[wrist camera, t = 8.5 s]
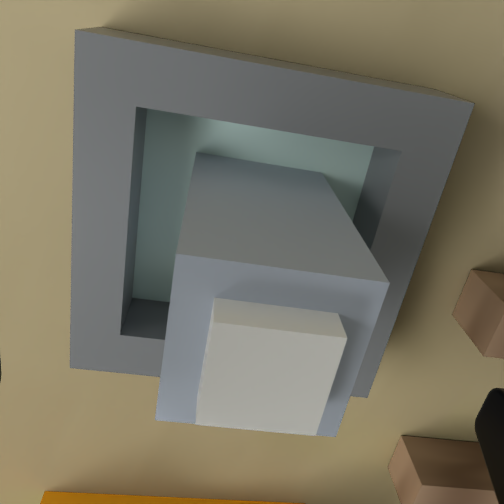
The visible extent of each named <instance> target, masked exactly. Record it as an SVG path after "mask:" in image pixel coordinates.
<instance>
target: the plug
mask: <svg viewBox="0 0 504 504" xmlns="http://www.w3.org/2000/svg"><path fill="white" fill-rule="evenodd" d="M389 284H390V282H389V281H388V279H387V278H386V276H385V274H384V273H383V271H382V269H381V268H380V266H379V265H378V263H377V261H376V260H375V258H374V256H373V255H372V253H371V252H370V250H369V248H368V247H367V245H366V243H365V242H364V240H363V239H362V237H361V235H360V234H359V232H358V230H357V229H356V227H355V226H354V224H353V222H352V221H351V219H350V217H349V216H348V214H347V213H346V211H345V209H344V208H343V206H342V205H341V203H340V201H339V200H338V198H337V196H336V195H335V193H334V192H333V190H332V188H331V187H330V185H329V183H328V182H327V180H326V179H325V177H324V175H323V174H322V173H321V172H315V171H309V170H303V169H297V168H290V167H284V166H278V165H272V164H266V163H260V162H254V161H248V160H242V159H236V158H230V157H224V156H218V155H212V154H205V153H199V152H196V156H195V161H194V166H193V171H192V176H191V181H190V186H189V191H188V196H187V201H186V206H185V211H184V216H183V221H182V226H181V231H180V236H179V241H178V246H177V251H176V257H175V265H174V273H173V281H172V289H171V297H170V305H169V313H168V320H167V328H166V336H165V344H164V352H163V360H162V368H161V376H160V384H159V392H158V400H157V407H156V415H155V420H159V421H170V422H181V423H191V424H195V425H203V426H214V427H225V428H236V429H246V430H257V431H268V432H278V433H289V434H300V435H310V436H316V435H319V436H330V437H336V435H337V432H338V429H339V426H340V423H341V421H342V418H343V415H344V412H345V409H346V406H347V403H348V401H349V398H350V395H351V392H352V389H353V386H354V384H355V381H356V378H357V375H358V372H359V369H360V366H361V364H362V361H363V358H364V355H365V352H366V349H367V347H368V344H369V341H370V338H371V335H372V332H373V329H374V327H375V324H376V321H377V318H378V315H379V312H380V310H381V307H382V304H383V301H384V298H385V295H386V292H387V290H388V287H389Z"/></svg>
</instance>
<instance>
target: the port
mask: <svg viewBox="0 0 504 504" xmlns="http://www.w3.org/2000/svg"><path fill="white" fill-rule="evenodd" d="M474 104H475V103H472V102H469V101H466V100H464V99H461V98H458V97H455V96H452V95H450V94H447V93H444V92H441V91H438V90H436V89H431V88H426V87H420V86H415V85H409V84H404V83H399V82H393V81H388V80H383V79H377V78H372V77H367V76H361V75H356V74H350V73H345V72H340V71H334V70H329V69H324V68H318V67H313V66H308V65H302V64H297V63H291V62H286V61H281V60H275V59H270V58H265V57H259V56H254V55H249V54H243V53H238V52H232V51H227V50H222V49H216V48H211V47H206V46H200V45H195V44H190V43H184V42H179V41H174V40H168V39H163V38H157V37H152V36H147V35H141V34H136V33H131V32H125V31H120V30H115V29H109V28H104V27H95V28H86V29H77V30H75V59H74V125H73V191H72V257H71V323H70V368H76V369H86V370H96V371H106V372H116V373H126V374H136V375H146V376H156V377H160V376H161V368H162V360H163V352H164V344H165V336H166V328H167V320H168V313H169V305H170V297H171V289H172V281H173V273H174V265H175V257H176V251H177V246H178V241H179V236H180V231H181V226H182V221H183V216H184V211H185V206H186V201H187V196H188V191H189V186H190V181H191V176H192V171H193V166H194V161H195V156H196V152H199V153H205V154H212V155H218V156H224V157H230V158H236V159H242V160H248V161H254V162H260V163H266V164H272V165H278V166H284V167H290V168H297V169H303V170H309V171H315V172H321V173H322V174H323V175H324V177H325V179H326V180H327V182H328V183H329V185H330V187H331V188H332V190H333V192H334V193H335V195H336V196H337V198H338V200H339V201H340V203H341V205H342V206H343V208H344V209H345V211H346V213H347V214H348V216H349V217H350V219H351V221H352V222H353V224H354V226H355V227H356V229H357V230H358V232H359V234H360V235H361V237H362V239H363V240H364V242H365V243H366V245H367V247H368V248H369V250H370V252H371V253H372V255H373V256H374V258H375V260H376V261H377V263H378V265H379V266H380V268H381V269H382V271H383V273H384V274H385V276H386V278H387V279H388V281H389V282H390V284H389V287H388V290H387V292H386V295H385V298H384V301H383V304H382V307H381V310H380V312H379V315H378V318H377V321H376V324H375V327H374V329H373V332H372V335H371V338H370V341H369V344H368V347H367V349H366V352H365V355H364V358H363V361H362V364H361V366H360V369H359V372H358V375H357V378H356V381H355V384H354V386H353V389H352V392H351V395H350V396H354V397H364V398H367V397H368V395H369V392H370V389H371V387H372V384H373V381H374V378H375V376H376V373H377V370H378V367H379V365H380V362H381V359H382V356H383V354H384V351H385V348H386V345H387V343H388V340H389V337H390V334H391V332H392V329H393V326H394V323H395V321H396V318H397V315H398V312H399V310H400V307H401V304H402V302H403V299H404V296H405V293H406V291H407V288H408V285H409V282H410V280H411V277H412V274H413V271H414V269H415V266H416V263H417V260H418V258H419V255H420V252H421V249H422V247H423V244H424V241H425V238H426V236H427V233H428V230H429V227H430V225H431V222H432V219H433V217H434V214H435V211H436V208H437V206H438V203H439V200H440V197H441V195H442V192H443V189H444V186H445V184H446V181H447V178H448V175H449V173H450V170H451V167H452V164H453V162H454V159H455V156H456V153H457V151H458V148H459V145H460V142H461V140H462V137H463V134H464V132H465V129H466V126H467V123H468V121H469V118H470V115H471V112H472V110H473V107H474Z"/></svg>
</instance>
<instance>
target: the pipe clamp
mask: <svg viewBox="0 0 504 504" xmlns="http://www.w3.org/2000/svg"><path fill="white" fill-rule="evenodd" d="M40 504H305V503H284V502H263V501H242V500H220V499H199V498H178V497H157V496H136V495H115V494H93V493H72V492H51V491H45V492H44V495H43V498H42V500H41V503H40Z"/></svg>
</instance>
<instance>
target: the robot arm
mask: <svg viewBox="0 0 504 504" xmlns="http://www.w3.org/2000/svg"><path fill="white" fill-rule="evenodd" d="M0 381H1V360H0ZM475 432H476V435H477V438H478V442H479V445H480V448H481V451H482V454H483V457H484V460H485V463H486V466H487V470H488V473H489V476H490V479H491V482H492V485H493V488H494V491H495V495H496V498H497V500H498V503H499V504H504V389H503V388H494V389H492V390H491V391H490V392H489V394H488V395H487V397H486V399H485V401H484V403H483V405H482V407H481V409H480V411H479V413H478V415H477V417H476V420H475Z"/></svg>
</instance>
